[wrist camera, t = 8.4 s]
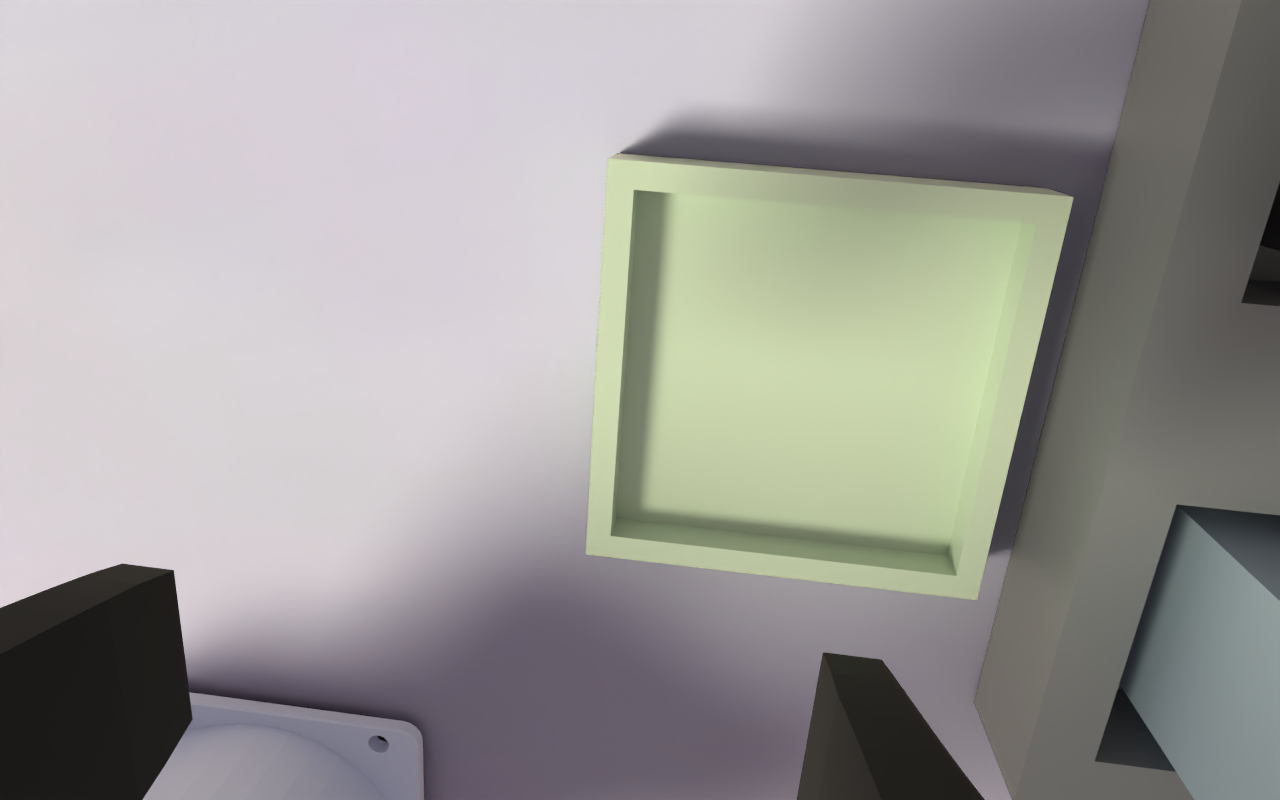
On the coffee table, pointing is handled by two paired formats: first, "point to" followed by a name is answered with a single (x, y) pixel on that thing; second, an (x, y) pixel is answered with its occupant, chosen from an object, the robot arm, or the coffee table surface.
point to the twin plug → (1273, 225)
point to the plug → (1213, 653)
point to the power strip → (1146, 401)
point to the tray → (813, 368)
